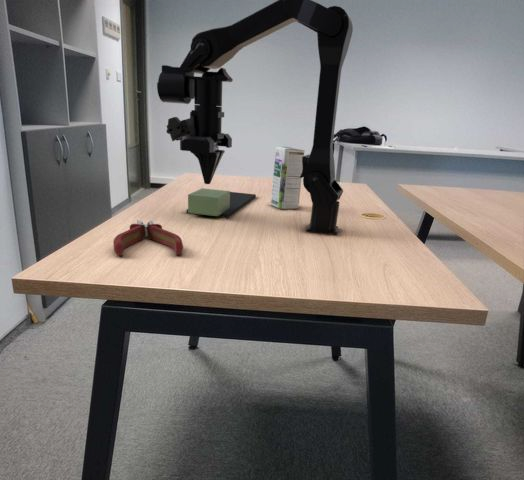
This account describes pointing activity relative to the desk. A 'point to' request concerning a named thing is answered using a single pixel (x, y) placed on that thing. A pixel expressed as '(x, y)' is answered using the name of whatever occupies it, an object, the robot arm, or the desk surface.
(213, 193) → the sage block
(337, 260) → the desk surface
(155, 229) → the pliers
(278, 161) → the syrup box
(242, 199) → the charcoal mat
